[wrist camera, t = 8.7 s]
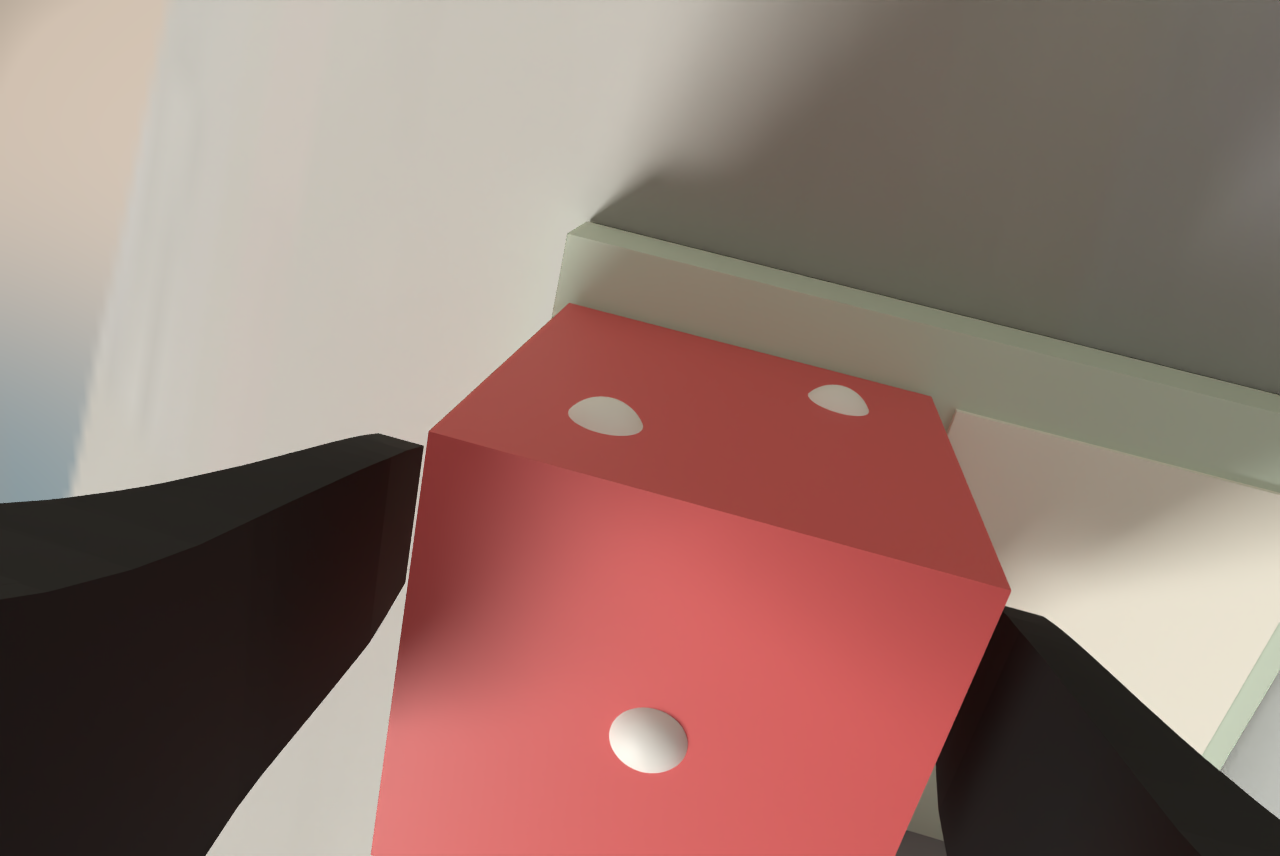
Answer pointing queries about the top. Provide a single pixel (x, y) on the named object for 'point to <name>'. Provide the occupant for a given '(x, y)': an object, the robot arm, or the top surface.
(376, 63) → the top surface
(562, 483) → the die
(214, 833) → the robot arm
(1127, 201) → the top surface
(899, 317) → the board
